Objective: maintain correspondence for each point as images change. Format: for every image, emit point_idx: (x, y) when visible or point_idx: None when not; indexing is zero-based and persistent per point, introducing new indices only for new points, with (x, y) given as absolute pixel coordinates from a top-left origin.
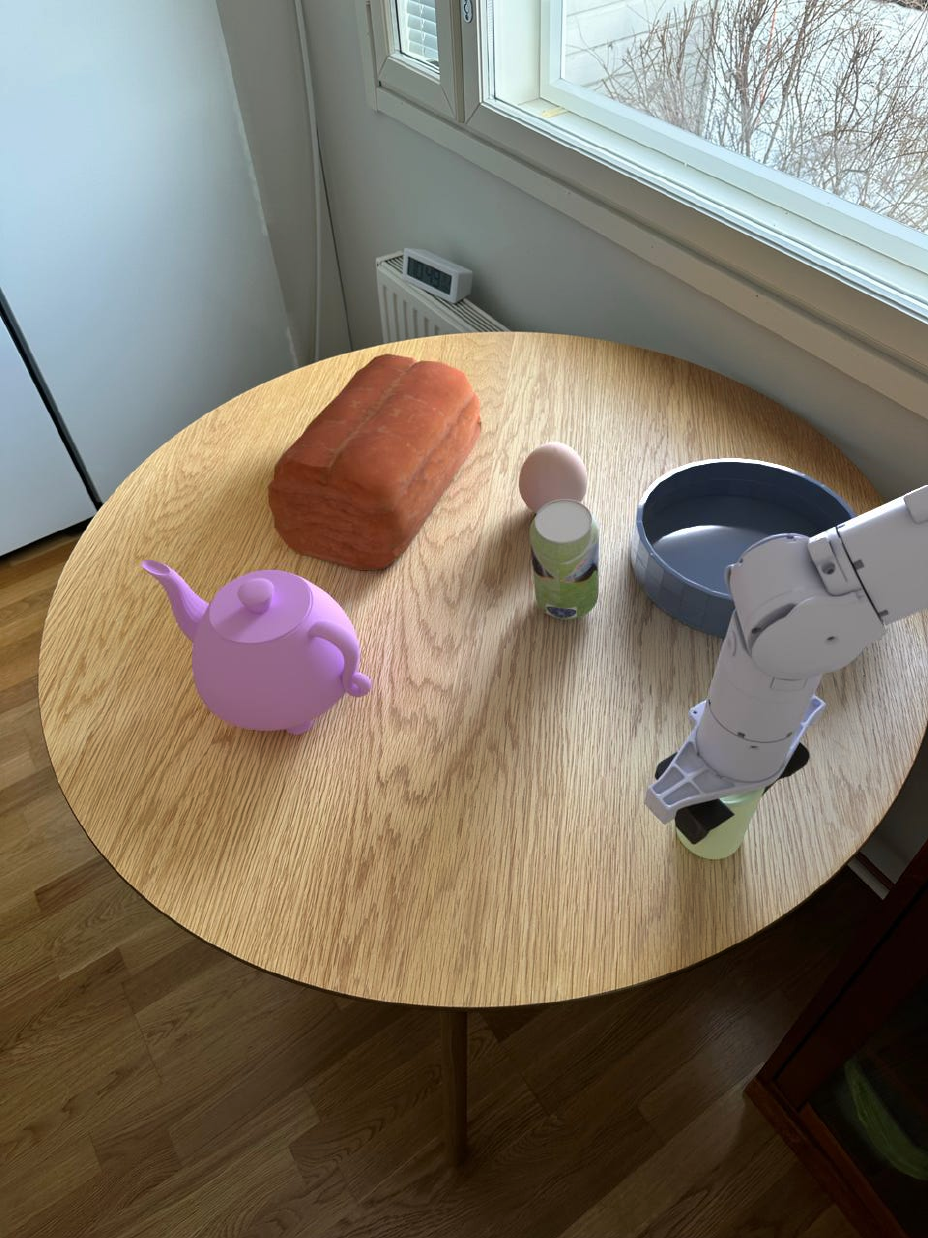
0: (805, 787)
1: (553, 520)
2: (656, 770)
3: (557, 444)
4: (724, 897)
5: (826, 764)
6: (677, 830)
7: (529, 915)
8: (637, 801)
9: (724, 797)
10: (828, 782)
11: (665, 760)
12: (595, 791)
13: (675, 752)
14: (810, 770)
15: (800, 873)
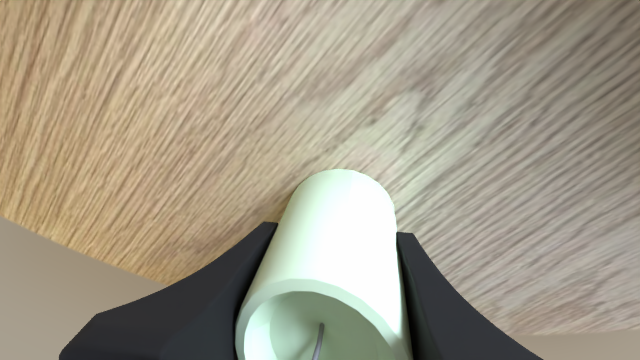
0: (534, 258)
1: None
2: (61, 351)
3: None
4: None
5: (612, 255)
6: (291, 196)
7: (38, 154)
8: (277, 109)
9: (291, 358)
10: (573, 274)
11: (101, 355)
12: (219, 42)
13: (154, 353)
14: (577, 246)
15: None
